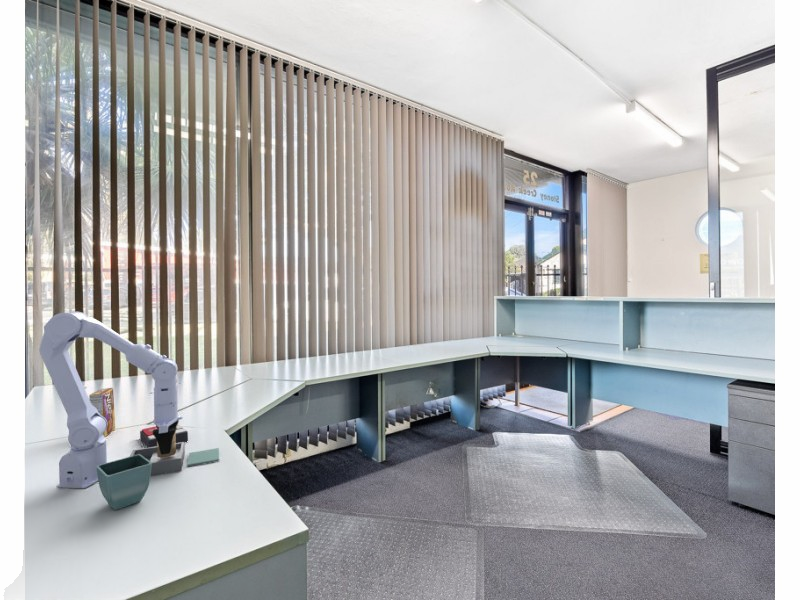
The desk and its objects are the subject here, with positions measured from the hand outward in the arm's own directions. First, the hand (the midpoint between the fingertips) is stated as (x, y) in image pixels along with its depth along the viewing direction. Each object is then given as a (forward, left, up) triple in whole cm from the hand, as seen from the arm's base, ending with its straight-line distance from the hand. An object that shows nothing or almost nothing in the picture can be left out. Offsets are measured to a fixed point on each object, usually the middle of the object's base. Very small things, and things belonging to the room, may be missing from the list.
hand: (166, 450), depth 108 cm
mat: (+5, -8, -4) cm, 10 cm away
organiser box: (-1, +2, -4) cm, 5 cm away
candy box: (+22, +39, -4) cm, 45 cm away
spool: (0, 0, -1) cm, 1 cm away
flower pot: (-20, -4, -4) cm, 21 cm away
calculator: (+18, +14, -5) cm, 23 cm away
